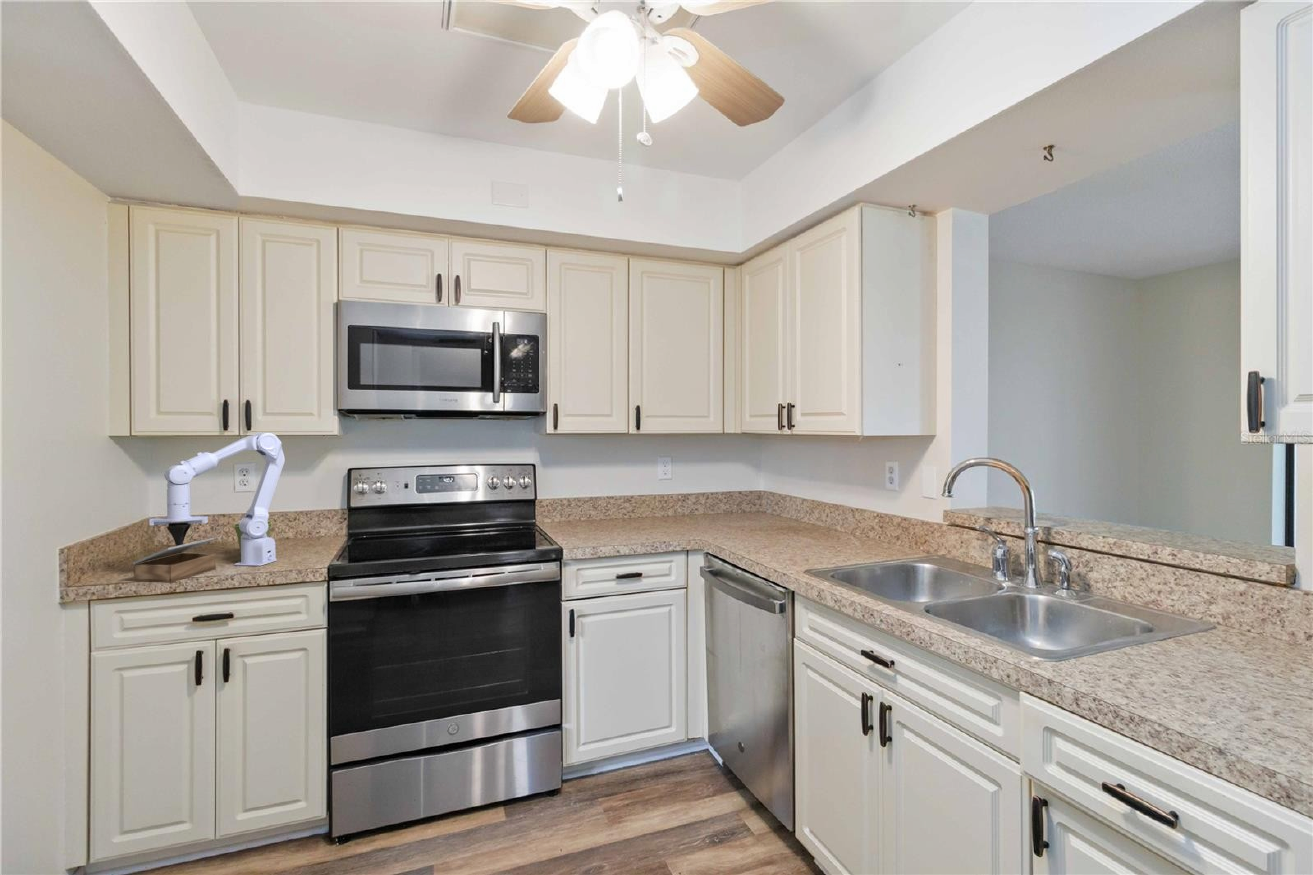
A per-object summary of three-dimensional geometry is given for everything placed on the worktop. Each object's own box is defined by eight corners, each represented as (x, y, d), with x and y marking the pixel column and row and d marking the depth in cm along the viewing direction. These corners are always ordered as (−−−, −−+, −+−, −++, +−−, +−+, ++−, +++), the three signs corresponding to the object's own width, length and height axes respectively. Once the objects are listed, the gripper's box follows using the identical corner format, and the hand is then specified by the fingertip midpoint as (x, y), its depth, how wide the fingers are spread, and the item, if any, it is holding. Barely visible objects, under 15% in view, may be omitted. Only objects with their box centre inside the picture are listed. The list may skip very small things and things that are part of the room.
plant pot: (276, 555, 215) (276, 523, 214) (236, 560, 206) (236, 527, 206) (269, 550, 223) (268, 519, 223) (230, 554, 215) (229, 523, 215)
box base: (215, 569, 193) (215, 553, 193) (171, 582, 178) (170, 565, 177) (181, 568, 195) (181, 553, 194) (134, 581, 179) (133, 564, 179)
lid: (214, 539, 193) (213, 537, 194) (168, 549, 177) (167, 547, 177) (181, 552, 195) (180, 550, 195) (133, 564, 178) (132, 562, 178)
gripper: (211, 501, 193) (211, 543, 193) (156, 503, 188) (157, 546, 188) (202, 504, 186) (203, 547, 186) (145, 506, 181) (146, 550, 182)
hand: (179, 547), depth 187 cm, fingers closed, pressing on lid
